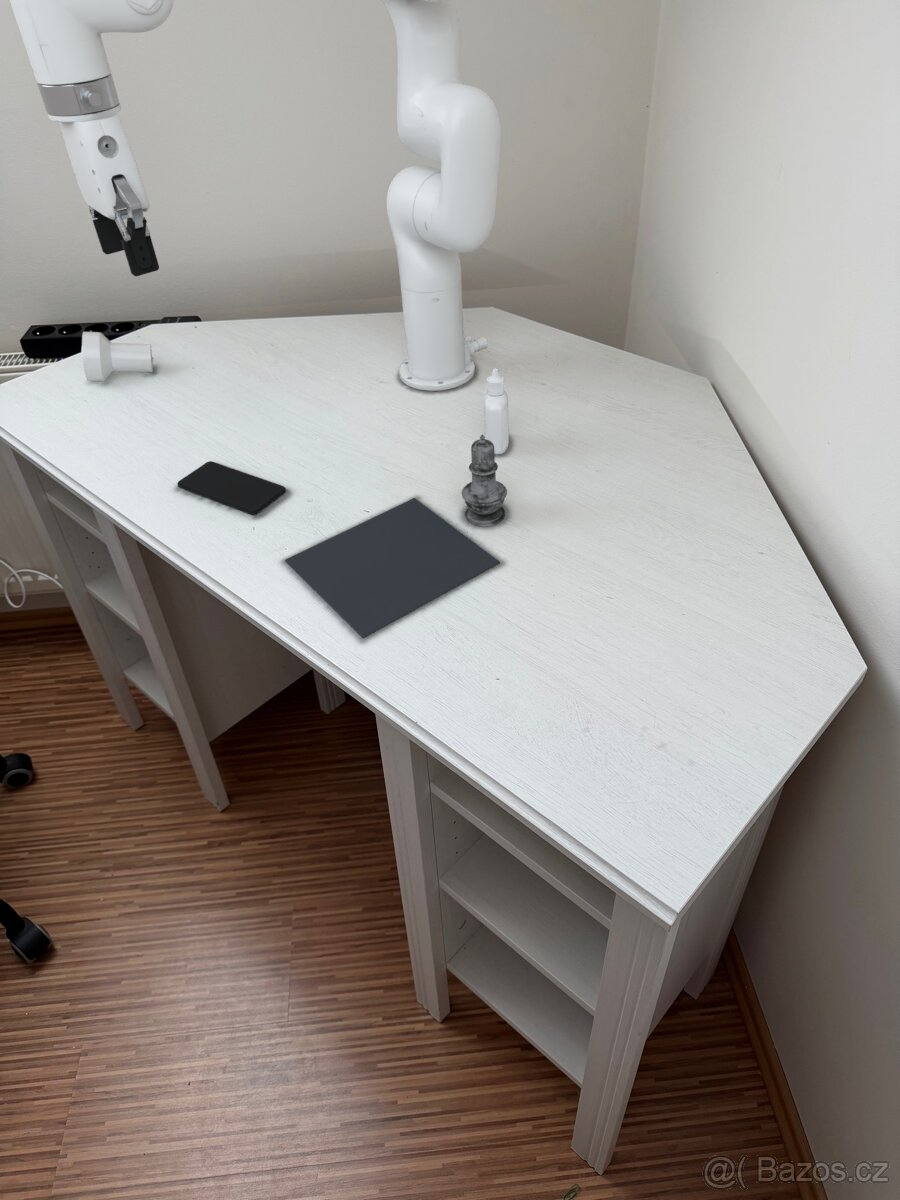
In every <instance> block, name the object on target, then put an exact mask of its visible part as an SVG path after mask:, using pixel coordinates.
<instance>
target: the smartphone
mask: <svg viewBox="0 0 900 1200" xmlns="http://www.w3.org/2000/svg"><path fill="white" fill-rule="evenodd" d="M177 487H178V488H179V489H181V490H184V491H187V492H189V493H192V494H195V495H197V496H200V497H203V498H205V499H208V500H211V501H212V502H216V503H219V504H221V505H223V506H227V507H230V508H231V509H235V510H237V511H239V512H242V513H245V514H248V515H251V516H256V515H258V514H259V513H262V511H264V510H265V509H266V508H268V507H269V506H270V505H271V504H273V503H274V502H276V501H277V500H278V499H280V498H281V497H282V496H283V495H285V494H286V492H287V489H286V486H284V485H281V484H278V483H276V482H273V481H271V480H267V479H264V478H261V477H258V476H255V475H253V474H250V473H247V472H244V471H241V470H239V469H236V468H233V467H229V466H226V465H223V464H221V463H217V462H215V461H211V460H210V461H207V462H205V463H204V464H202V465H200V466H199V467H197V468H196V469H195V470H193V471H191V472H190V473H189V474H187V475H186V476H184V477H183V478H181V479H180V480H178V482H177Z"/></svg>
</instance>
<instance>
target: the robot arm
mask: <svg viewBox="0 0 900 1200" xmlns="http://www.w3.org/2000/svg"><path fill="white" fill-rule="evenodd" d="M381 1H382V3H383V5H384V6H385V8H386V9H387V13H388V14H389V16H390V19H391V22H392V24H393V27H394V28H393V29H394V31H395V39H396V56H397V58H396V59H397V65H396V66H397V68H396V69H397V70H396V73H397V75H396V129H397V135H398V138H399V141H400V143H401V144H402V146H403V147H404V148H405V149H406V150H407V151H409V152H411V153H412V154H414V155H417V156H420V157H423V158H425V159H429V160H432V161H436V162H438V163H440V169H438V168H435V167H431V166H427V165H411V166H408V167H406V168H403V169H401V171H399V172H397V174H396V175H395V176H394V177H393V179H392V180H391V182H390V184H389V186H388V189H387V193H386V201H385V202H386V204H385V205H386V214H387V220H388V223H389V227H390V231H391V234H392V238H393V242H394V246H395V251H396V256H397V264H398V270H399V271H398V272H399V273H398V275H399V283H400V294H401V295H400V296H401V305H402V316H403V326H404V336H405V347H406V358H407V359H405V360H404V361H403V362H402V363H401V365H400V366H399V369H398V371H399V373H398V374H399V378H400V380H401V382H403V384H405V385H406V386H408V387H411V388H413V389H416V390H420V391H428V392H431V391H432V392H435V391H436V392H437V391H438V392H439V391H445V390H451V389H456V388H458V387H461V386H463V385H464V384H466V383H468V382H469V381H470V380H471V379H472V378H473V377H474V375H475V373H476V366H475V365H476V364H475V362H474V361H473V359H472V358H471V357H473V356H474V355H475V353H476V352H481V351H482V350H486V349H487V348H488V347H489V346H488V345H489V343H488V340H487V337H485V336H481V337H479V338H477V339H474V340H473V339H472V337H471V336H469V335H468V336H465V329H464V309H463V308H464V307H463V283H462V265H461V258H460V255H459V254H470V253H474V252H476V251H477V250H479V249H480V248H481V247H482V246H483V245H484V244H485V242H486V241H487V240H488V238H489V237H490V234H491V232H492V229H493V225H494V221H495V215H496V210H497V199H498V187H499V177H500V176H499V174H500V162H501V161H500V160H501V150H502V124H501V120H500V116H499V111H498V108H497V107H496V106H497V105H496V104H495V102H494V101H493V99H492V98H491V97H490V95H489V94H488V93H486V91H484V90H482V89H480V88H479V87H477V86H473V85H469V84H464V83H462V37H461V36H462V35H461V34H462V33H461V24H460V20H459V19H460V18H459V15H458V12H457V8H456V5H455V2H454V0H381ZM174 2H175V0H9V4H10V7H11V10H12V13H13V15H14V18H15V21H16V22H15V23H16V25H17V28H18V31H19V33H20V37H21V40H22V42H23V45H24V48H25V51H26V54H27V58H28V61H29V63H30V66H31V69H32V73H33V75H34V78H35V82H36V84H37V87H38V90H39V93H40V96H41V99H42V103H43V105H44V109H45V111H46V115H47V117H48V119H49V120H50V121H52V122H58V123H59V127H60V133H61V136H62V138H63V141H64V145H65V148H66V152H67V155H68V158H69V161H70V165H71V168H72V170H73V175H74V178H75V180H76V183H77V186H78V189H79V192H80V194H81V196H82V198H83V200H84V202H85V203H86V204H87V205H88V209H89V214H90V216H91V218H92V224H93V227H94V230H95V232H96V233H95V234H96V235H97V239H98V241H99V244H100V248H101V250H102V252H103V253H104V254H105V255H111V254H115V253H118V252H119V253H120V252H122V251H124V255H125V257H126V261H127V264H128V267H129V270H130V274H131V275H132V276H134V277H139V276H143V275H147V274H151V273H153V272H157V271H159V270H160V265H159V261H158V257H157V254H156V250H155V248H154V244H153V240H152V237H151V231H150V229H149V227H148V225H147V222H148V221H147V219H146V217H145V216H144V213H146V212H148V211H149V209H150V202H149V198H148V195H147V192H146V188H145V186H144V182H143V179H142V176H141V173H140V170H139V167H138V164H137V161H136V158H135V155H134V151H133V149H132V146H131V143H130V141H129V138H128V136H127V133H126V130H125V128H124V124H123V123H122V120H121V118H120V116H119V114H118V113H119V112H120V111H122V107H121V103H120V99H119V96H118V92H117V88H116V86H115V81H114V79H113V75H112V71H111V67H110V64H109V60H108V57H107V53H106V48H105V46H104V43H103V39H102V34H103V33H104V34H105V33H131V34H133V33H134V34H137V33H146V32H150V31H153V30H155V29H157V28H158V27H160V26H162V24H164V22H165V21H167V19H168V18H169V16H170V15H171V12H172V9H173V5H174ZM124 220H126V223H125V221H124Z"/></svg>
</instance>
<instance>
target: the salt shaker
mask: <svg viewBox="0 0 900 1200" xmlns="http://www.w3.org/2000/svg"><path fill="white" fill-rule="evenodd" d="M470 453H471V454H470V457H471V463H470V464H469V465H468V470H469V472H471V481H470V482H469V483H467V484H466V485H465V486H464V487H463V488H462V489H461V497H462V499H463V500H464V503H465V505H466V507H467V508H466V510H465V512H464V517H465V521H467V522H468V523H469V524H471V525H473V526H475V527H481V528H482V527H487V528H488V527H493V526H496V525H498V524H499V523H501V522H502V521H503V520H504V519H505V517H506V510H505V509H504V507H502V506H503V504H504V502H505V499H506V498H507V495H508V489H507V487H506V486H505V485H504V484H503V483H502V482H500V481H498V480H497V479H496V472H497V470H498V468H499V465H498V463H497V462H496V460H495V457H496V456H495V454H494V445H493V443H492V442H491V441H489V440H486V439H485V435H484V434H481V435H480V436H479V439H477V440H475V441H473V443H471V447H470Z"/></svg>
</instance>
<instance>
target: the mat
mask: <svg viewBox="0 0 900 1200" xmlns="http://www.w3.org/2000/svg"><path fill="white" fill-rule="evenodd" d="M284 562H285V563H286V564H287V565H288V566H289V567H290V568H291V569H292V570H293V571H294V572H295V573H296V574H297V575H298V576H299V577H300V578H301V579H302V580H303V581H304V582H305V583H306V584H307V585H308V586H309V587H310V588H311V589H312V590H313V591H314V592H315V593H316V594H317V595H318V596H320V598H322V600H323V601H325V603H327V605H329V606H330V607H331V609H332V610H333V611H335V612H336V614H337V615H339V616H340V617H341V619H343V621H345V622H346V623H347V624H348V625H349V626H350V627H351V629H352V630H354V631H355V633H357V634H358V635H359V636H360V637H361V638H362V639H365V638H366V637H369V636H370V635H372V634H374V633H376V632H377V631H379V630H381V629H383V628H385V627H386V626H388V625H390V624H393V623H394V622H395V621H397V620H399V619H401V618H403V617H405V616H406V615H409V614H410V613H412V612H414V611H416V610H418V609H419V608H421V607H423V606H425V605H426V604H428V603H430V602H432V601H434V600H436V599H437V598H438V599H439V598H440V597H441V596H443V595H445V594H447V593H448V592H451V591H452V590H454V589H456V588H458V587H460V586H461V585H463V584H465V583H467V582H469V581H470V580H472V579H474V578H475V577H478V576H480V575H481V574H483V573H486V572H487V571H489V570H491V569H492V568H494V567H496V566H498V565H500V563H501V562H500V561H499V560H498V559H497V558H496V557H494V556H493V555H492V554H490V553H489V552H487V550H485V549H483V548H482V547H481V546H480V545H478V544H477V543H475V542H474V541H473V540H471V539H470V538H469V537H467V536H466V535H465V534H463V533H462V532H461V531H460V530H458V529H457V528H455V527H454V526H453V525H451V524H450V523H448V522H447V521H446V520H444V519H443V518H442V517H441V516H440V515H438V514H437V513H435V512H434V511H433V510H431V509H430V508H429V507H427V506H426V505H424V504H423V503H422V502H420V501H419V500H418V499H417V498H415V497H413V498H411V499H409V500H407V501H404V502H403V503H401V504H398V505H396V506H394V507H392V508H390V509H388V510H386V511H384V512H382V513H380V514H377V515H376V516H373V517H371V518H369V519H367V520H365V521H363V522H360V523H359V524H357V525H354V526H353V527H351V528H348V529H347V530H344V531H342V532H340V533H338V534H336V535H333V536H331V537H330V538H328V539H326V540H324V541H321V542H319V543H317V544H315V545H313V546H310V547H309V548H307V549H305V550H302V551H300V552H298V553H296V554H294V555H292V556H290V557H288V558H286V559H284Z"/></svg>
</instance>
